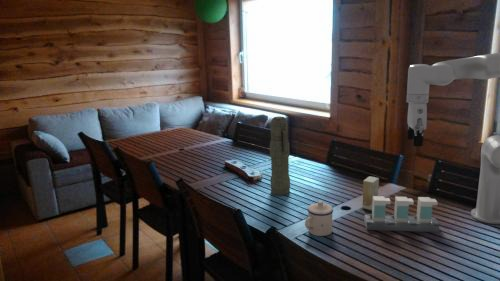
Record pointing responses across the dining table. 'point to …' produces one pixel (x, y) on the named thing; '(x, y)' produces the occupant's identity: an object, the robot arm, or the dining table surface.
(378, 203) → the finger loose
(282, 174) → the thermos
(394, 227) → the rail
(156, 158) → the dining table surface
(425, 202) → the cream block teal side
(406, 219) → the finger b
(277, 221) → the dining table surface
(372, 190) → the skincare box
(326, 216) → the teacup with lid
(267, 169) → the dining table surface
